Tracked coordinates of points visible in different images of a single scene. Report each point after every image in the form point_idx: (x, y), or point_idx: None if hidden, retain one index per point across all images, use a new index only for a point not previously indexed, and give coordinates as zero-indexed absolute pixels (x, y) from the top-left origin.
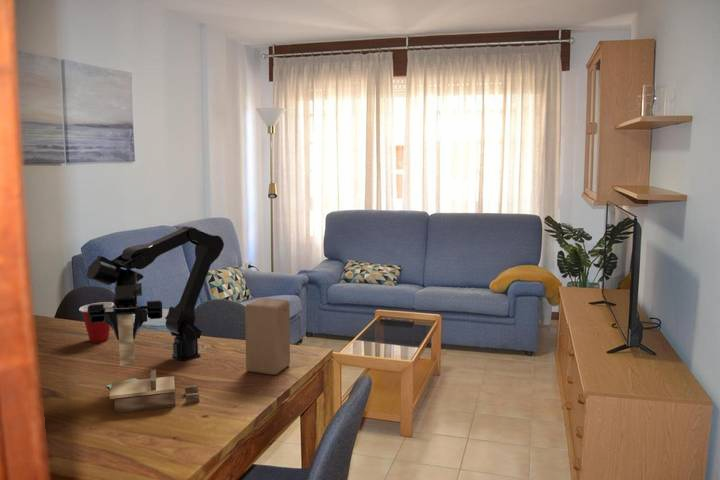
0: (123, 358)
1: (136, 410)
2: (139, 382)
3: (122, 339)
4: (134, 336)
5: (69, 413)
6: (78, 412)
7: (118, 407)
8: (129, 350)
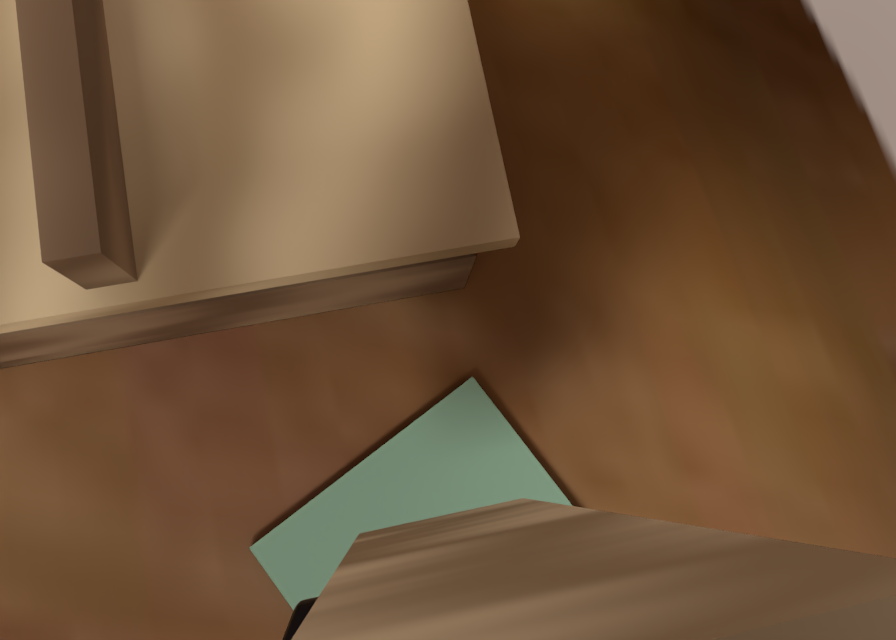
0: (491, 510)
1: None
2: (246, 202)
3: (550, 531)
4: (297, 616)
5: (730, 75)
6: (675, 83)
7: None
8: (410, 536)
